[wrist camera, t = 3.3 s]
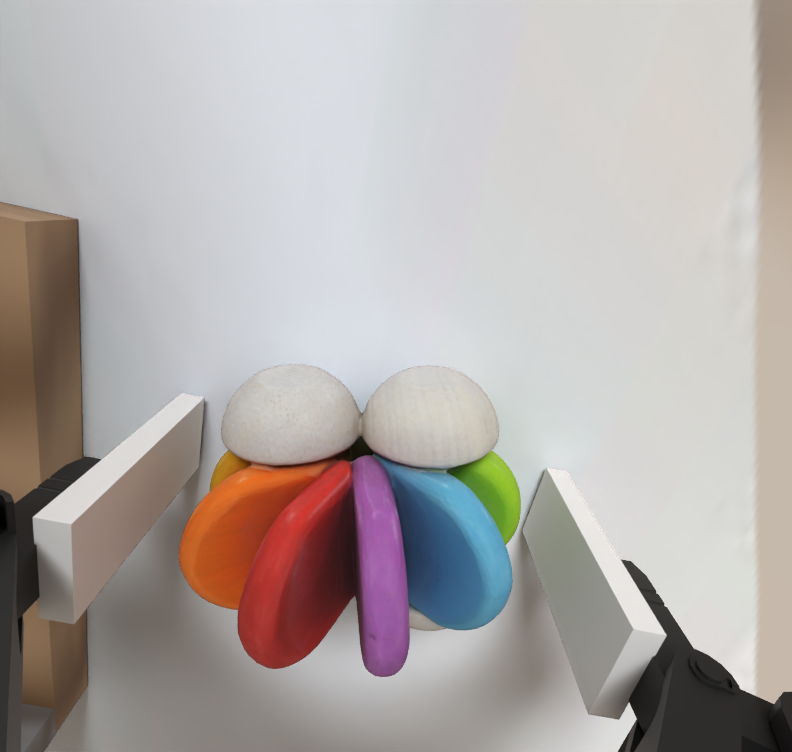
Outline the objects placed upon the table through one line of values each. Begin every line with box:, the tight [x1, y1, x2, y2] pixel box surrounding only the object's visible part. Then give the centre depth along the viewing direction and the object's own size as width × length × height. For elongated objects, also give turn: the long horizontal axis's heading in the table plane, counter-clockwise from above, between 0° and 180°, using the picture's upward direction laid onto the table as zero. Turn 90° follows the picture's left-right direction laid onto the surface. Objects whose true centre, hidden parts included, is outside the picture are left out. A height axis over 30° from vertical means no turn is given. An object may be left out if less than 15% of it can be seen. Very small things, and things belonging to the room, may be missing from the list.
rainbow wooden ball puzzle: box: [179, 364, 521, 677], centre depth 13 cm, size 8×10×7 cm
